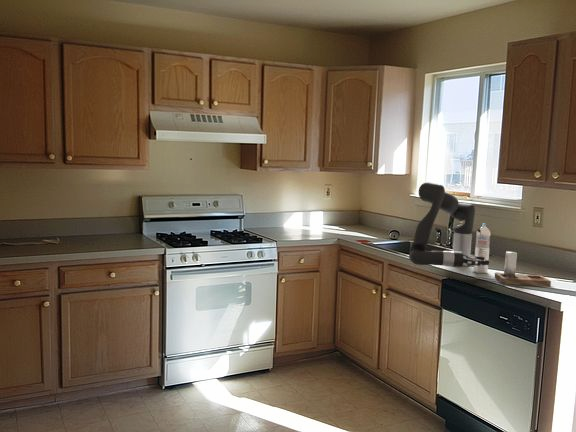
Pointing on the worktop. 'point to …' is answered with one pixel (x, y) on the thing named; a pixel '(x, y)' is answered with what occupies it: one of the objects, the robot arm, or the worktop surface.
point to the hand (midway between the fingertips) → (486, 261)
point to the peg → (510, 264)
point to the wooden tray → (523, 279)
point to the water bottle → (482, 247)
